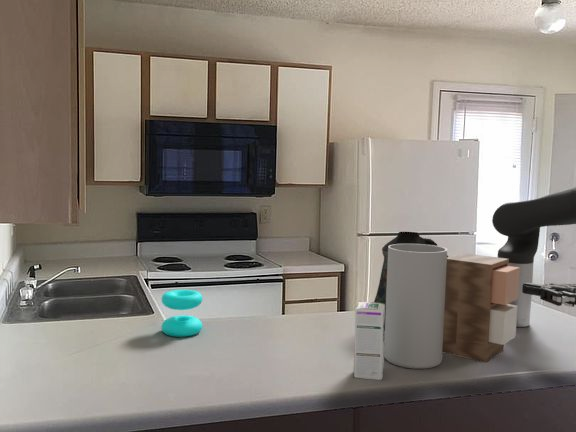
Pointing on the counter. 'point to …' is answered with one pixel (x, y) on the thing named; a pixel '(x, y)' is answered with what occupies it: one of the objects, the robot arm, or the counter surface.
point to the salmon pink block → (505, 284)
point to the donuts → (182, 323)
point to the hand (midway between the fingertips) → (523, 287)
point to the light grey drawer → (502, 323)
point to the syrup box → (369, 340)
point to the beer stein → (400, 239)
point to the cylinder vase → (415, 305)
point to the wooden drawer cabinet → (469, 306)
